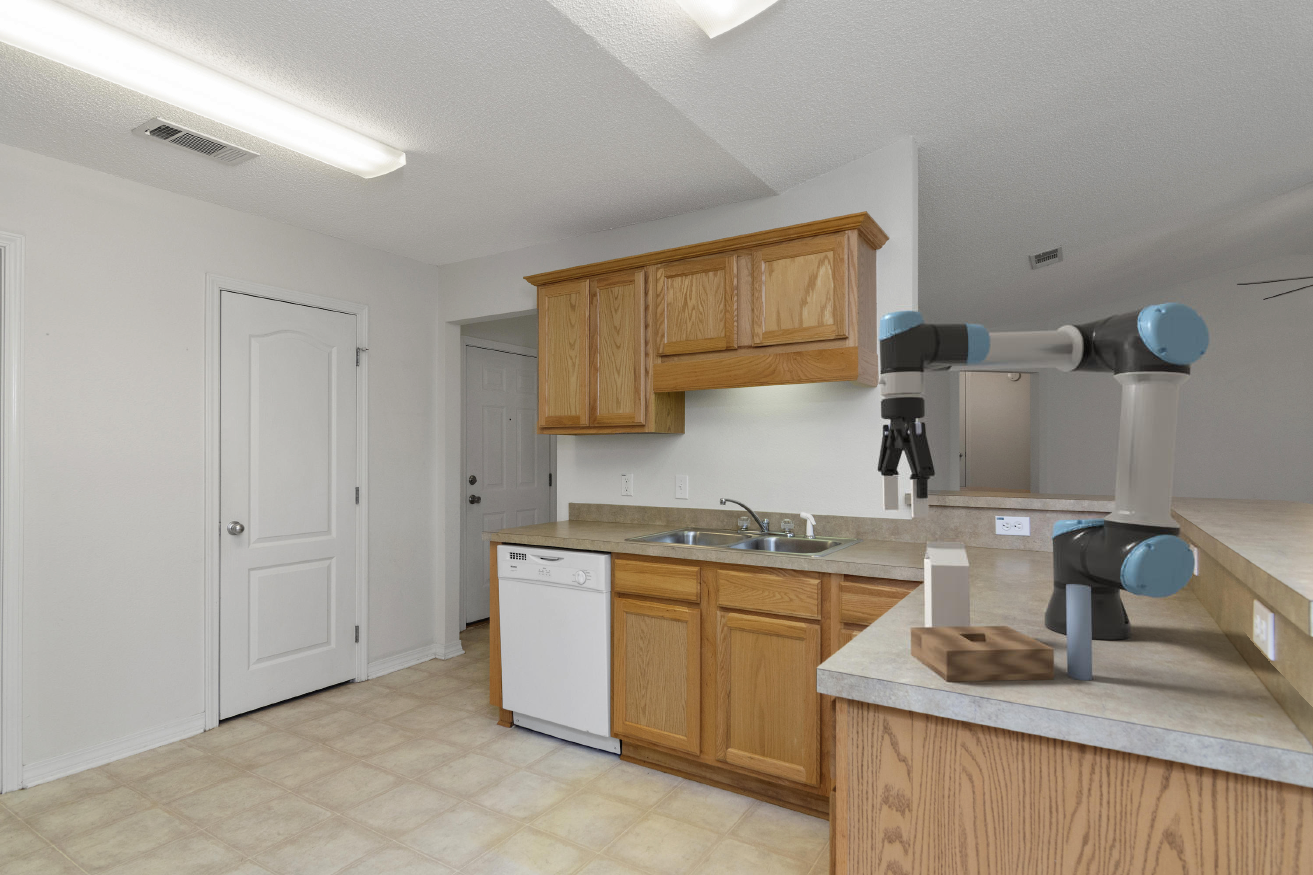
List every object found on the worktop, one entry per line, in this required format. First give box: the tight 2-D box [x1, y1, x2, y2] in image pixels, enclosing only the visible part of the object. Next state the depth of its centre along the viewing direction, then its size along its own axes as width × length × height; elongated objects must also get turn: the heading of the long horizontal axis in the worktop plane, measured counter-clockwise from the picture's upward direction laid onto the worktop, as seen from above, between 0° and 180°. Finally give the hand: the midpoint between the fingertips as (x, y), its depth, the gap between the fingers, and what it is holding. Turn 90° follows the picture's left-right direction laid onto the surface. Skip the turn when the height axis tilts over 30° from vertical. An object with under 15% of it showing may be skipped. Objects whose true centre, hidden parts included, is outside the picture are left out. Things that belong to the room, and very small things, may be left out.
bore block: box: [910, 625, 1055, 682], centre depth 117 cm, size 18×14×5 cm
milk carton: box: [923, 541, 971, 627], centre depth 135 cm, size 7×7×19 cm
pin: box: [1066, 584, 1093, 681], centre depth 112 cm, size 4×4×15 cm
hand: (904, 513), depth 123 cm, fingers open, 13 cm apart
